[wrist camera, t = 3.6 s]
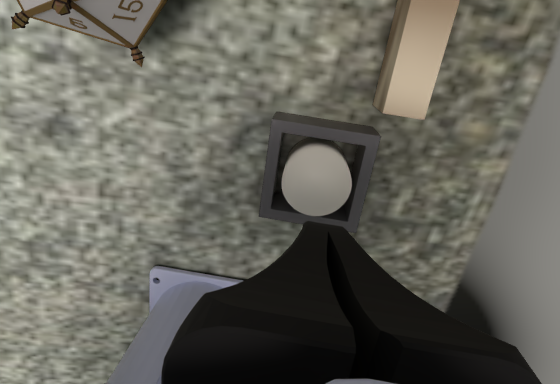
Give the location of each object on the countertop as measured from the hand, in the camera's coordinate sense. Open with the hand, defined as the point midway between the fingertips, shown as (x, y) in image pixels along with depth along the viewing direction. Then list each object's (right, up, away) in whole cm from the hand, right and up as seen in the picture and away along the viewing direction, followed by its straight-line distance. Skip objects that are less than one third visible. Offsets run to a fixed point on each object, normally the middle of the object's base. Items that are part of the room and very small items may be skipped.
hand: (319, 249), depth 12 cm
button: (+1, +3, +9) cm, 10 cm away
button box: (+1, +4, +9) cm, 10 cm away
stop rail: (+6, +11, +6) cm, 14 cm away
